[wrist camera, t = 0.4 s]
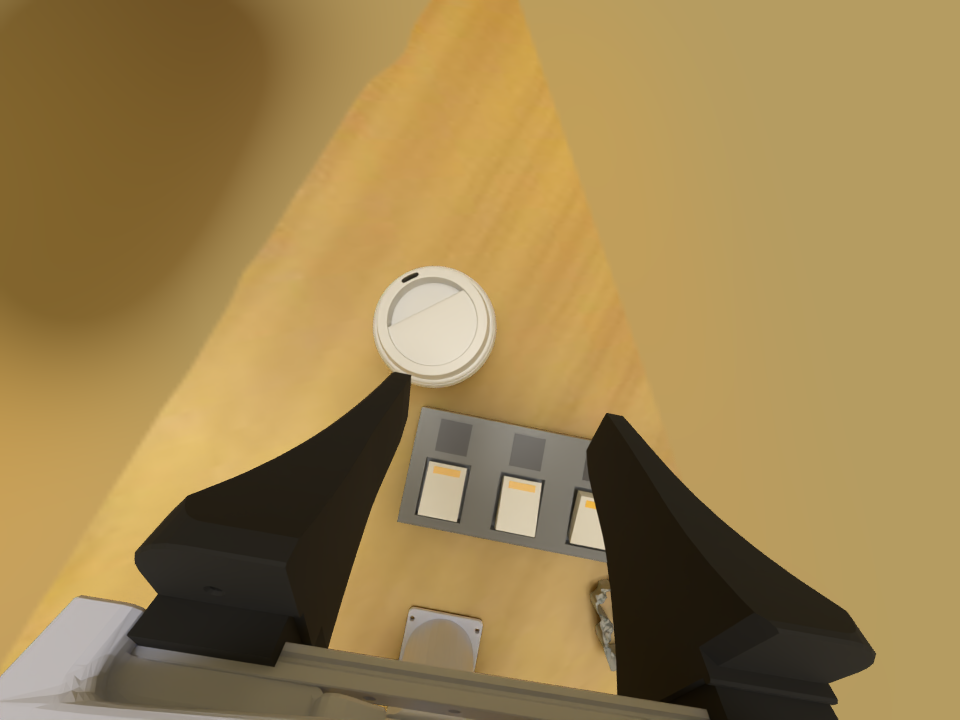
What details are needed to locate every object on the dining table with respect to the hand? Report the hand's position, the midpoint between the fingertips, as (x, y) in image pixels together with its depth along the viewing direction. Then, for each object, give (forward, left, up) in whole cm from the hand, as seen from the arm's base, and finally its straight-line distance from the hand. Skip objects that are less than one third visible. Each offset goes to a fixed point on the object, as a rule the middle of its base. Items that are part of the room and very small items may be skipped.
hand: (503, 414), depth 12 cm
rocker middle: (-10, -6, -24) cm, 27 cm away
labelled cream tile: (-10, +2, -24) cm, 26 cm away
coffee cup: (+5, +5, -27) cm, 28 cm away
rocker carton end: (-10, -14, -24) cm, 29 cm away
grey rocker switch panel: (-8, -6, -26) cm, 28 cm away
